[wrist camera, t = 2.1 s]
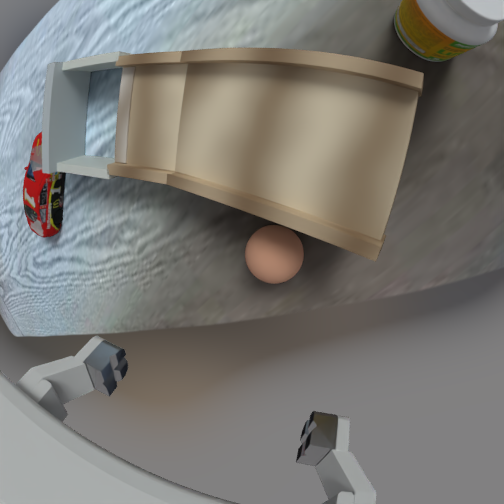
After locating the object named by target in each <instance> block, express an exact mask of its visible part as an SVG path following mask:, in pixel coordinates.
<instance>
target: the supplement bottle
mask: <svg viewBox="0 0 504 504" xmlns="http://www.w3.org/2000/svg"><path fill="white" fill-rule="evenodd" d="M502 20H504V0H403V1H402V2H401V4H400V5H399V7H398V9H397V11H396V13H395V17H394V25H395V29H396V32H397V34H398V36H399V38H400V40H401V41H402V42H403V44H404V45H405V46H406V47H407V48H408V49H409V50H410V51H411V52H413V53H414V54H416V55H417V56H419V57H421V58H423V59H425V60H428V61H433V62H442V61H446V60H449V59H451V58H453V57H455V56H457V55H459V54H462V53H464V52H466V51H468V50H471V49H473V48H475V47H477V46H480V45H482V44H485V43H486V42H488V41H490V40H491V39H492V38H493V37H494V35H495V33H496V31H497V27H498V23H499V22H500V21H502Z"/></svg>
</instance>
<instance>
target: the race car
mask: <svg viewBox="0 0 504 504" xmlns="http://www.w3.org/2000/svg"><path fill="white" fill-rule="evenodd" d="M24 169H25V170H27V171H26V174H25V178H24V185H23V202H24V209H25V214H26V217H27V221H28V224H29V226H30V228H31V230H32V231H33V232H35V233H36V234H37V235H39V236H41V237H51V236H53V235H55V234H57V233H58V231H59V230H60V227H61V223H60V222H61V221H62V220H63V218H62V217H63V210H62V209H60V208H62V207H63V191H64V179H65V172H58V171H56V172H53V173H50V174H47V173H42V132H41V133H39V134H38V135H37V136H36V138H35V140H34V142H33V146H32V151H31V156H30V161H29V165H28V167H25V168H24Z"/></svg>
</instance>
